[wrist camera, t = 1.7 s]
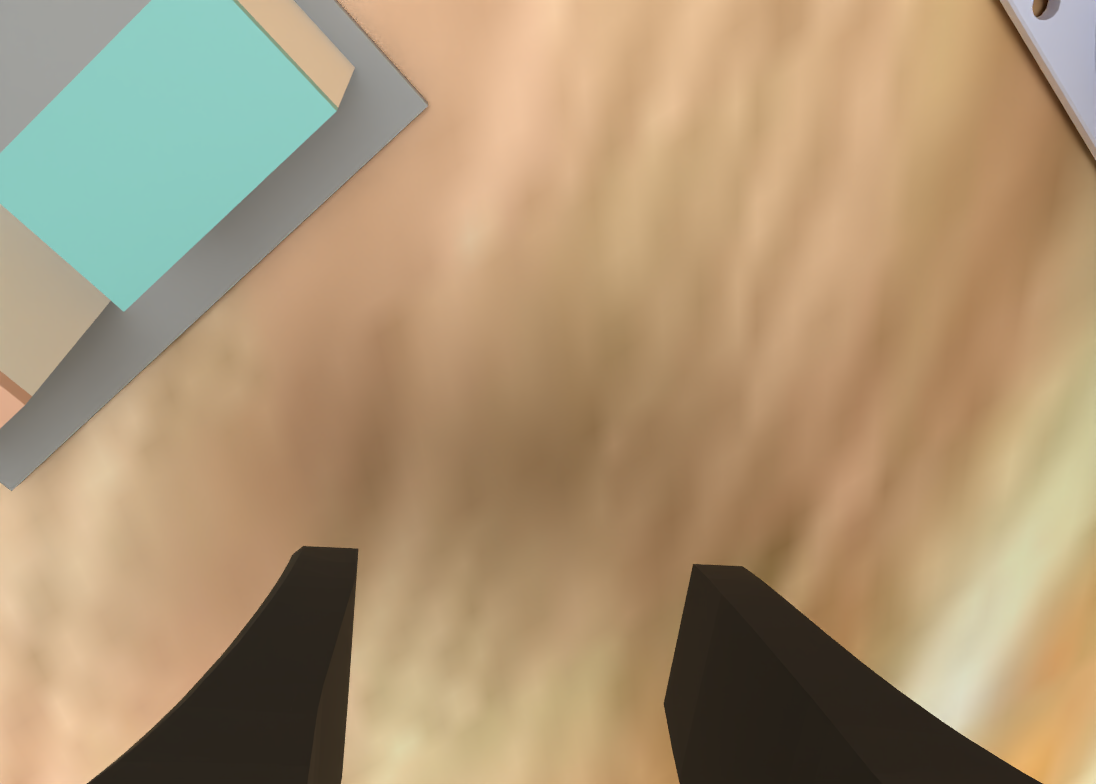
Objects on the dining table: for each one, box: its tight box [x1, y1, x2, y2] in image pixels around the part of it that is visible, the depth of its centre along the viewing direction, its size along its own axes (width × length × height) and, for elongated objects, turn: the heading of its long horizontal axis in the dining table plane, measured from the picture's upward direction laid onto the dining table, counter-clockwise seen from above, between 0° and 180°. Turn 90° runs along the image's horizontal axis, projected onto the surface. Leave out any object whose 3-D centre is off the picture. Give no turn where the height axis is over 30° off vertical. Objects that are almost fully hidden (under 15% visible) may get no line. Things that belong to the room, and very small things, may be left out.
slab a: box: [0, 0, 355, 312], centre depth 16 cm, size 2×4×5 cm, turn 131°
